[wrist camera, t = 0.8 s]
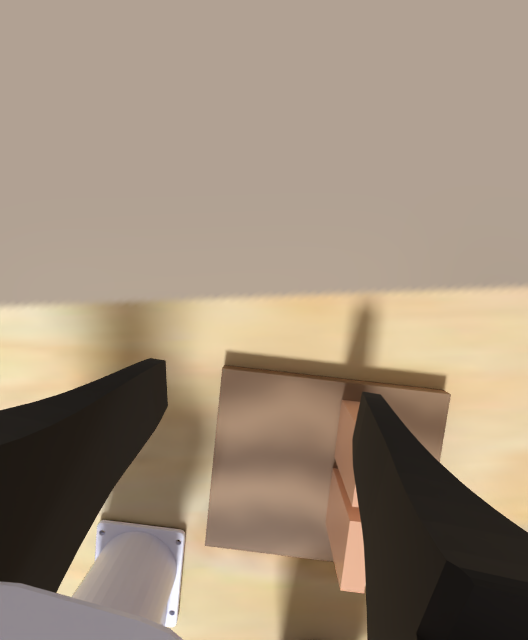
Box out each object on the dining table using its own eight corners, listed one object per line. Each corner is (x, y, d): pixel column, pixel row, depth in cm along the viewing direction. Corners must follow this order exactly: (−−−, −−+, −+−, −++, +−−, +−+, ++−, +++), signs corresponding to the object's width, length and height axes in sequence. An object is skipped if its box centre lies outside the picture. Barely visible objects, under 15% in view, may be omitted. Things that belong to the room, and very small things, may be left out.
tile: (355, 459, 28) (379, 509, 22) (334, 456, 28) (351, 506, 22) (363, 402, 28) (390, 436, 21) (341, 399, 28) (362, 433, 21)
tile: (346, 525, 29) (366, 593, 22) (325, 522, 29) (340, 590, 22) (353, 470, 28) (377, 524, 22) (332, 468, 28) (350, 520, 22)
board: (415, 561, 30) (421, 572, 29) (207, 535, 31) (204, 545, 29) (443, 390, 29) (450, 394, 27) (224, 365, 29) (222, 368, 28)
